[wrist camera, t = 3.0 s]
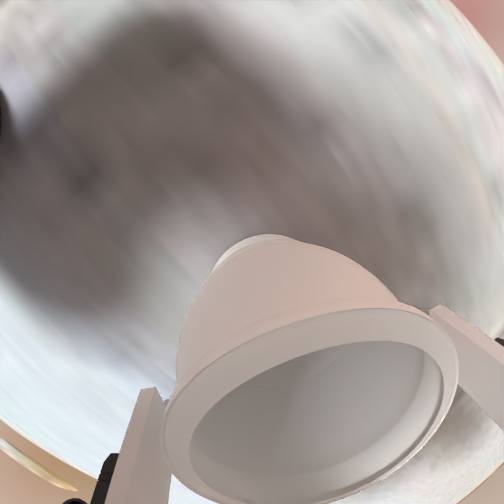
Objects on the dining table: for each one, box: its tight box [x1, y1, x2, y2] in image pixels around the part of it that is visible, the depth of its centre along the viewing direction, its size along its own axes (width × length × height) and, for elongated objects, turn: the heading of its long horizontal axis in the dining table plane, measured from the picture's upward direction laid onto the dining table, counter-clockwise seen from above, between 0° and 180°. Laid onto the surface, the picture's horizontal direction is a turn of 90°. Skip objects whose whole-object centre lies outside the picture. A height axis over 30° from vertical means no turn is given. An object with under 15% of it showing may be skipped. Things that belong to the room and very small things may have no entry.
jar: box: [160, 234, 459, 504], centre depth 15 cm, size 11×10×15 cm
